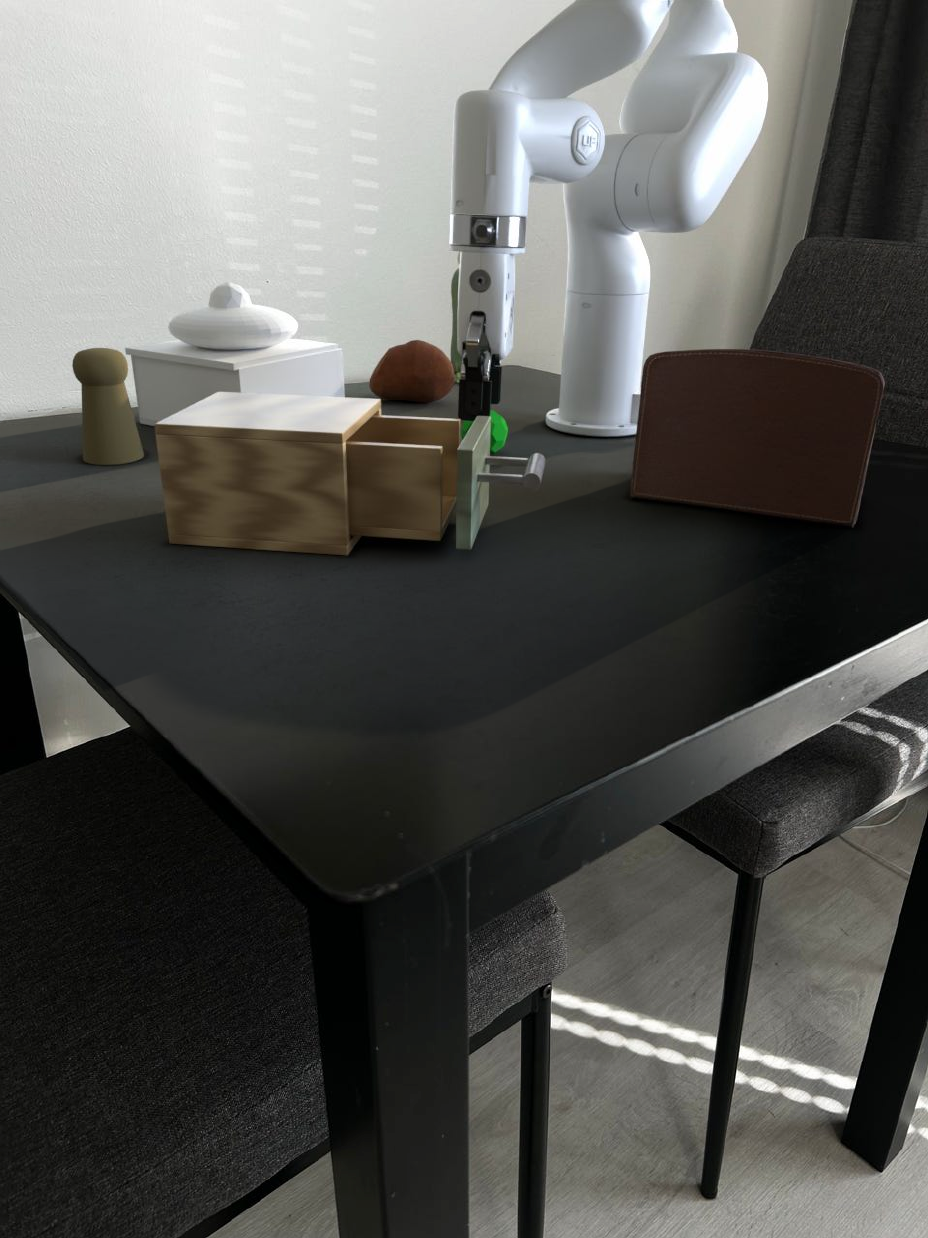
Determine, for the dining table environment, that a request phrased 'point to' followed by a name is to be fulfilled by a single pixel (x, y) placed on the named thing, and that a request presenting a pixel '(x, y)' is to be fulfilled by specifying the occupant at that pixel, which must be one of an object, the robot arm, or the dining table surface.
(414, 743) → the dining table surface
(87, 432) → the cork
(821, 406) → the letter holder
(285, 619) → the dining table surface
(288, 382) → the butter dish
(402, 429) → the drawer
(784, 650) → the dining table surface
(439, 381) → the potato
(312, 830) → the dining table surface
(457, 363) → the vegetable
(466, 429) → the polyhedron
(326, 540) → the cabinet
